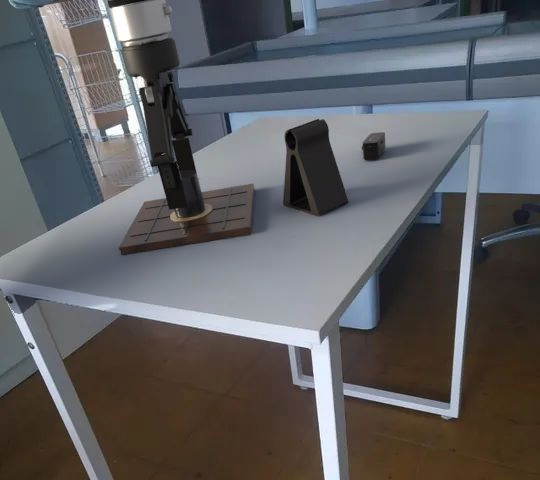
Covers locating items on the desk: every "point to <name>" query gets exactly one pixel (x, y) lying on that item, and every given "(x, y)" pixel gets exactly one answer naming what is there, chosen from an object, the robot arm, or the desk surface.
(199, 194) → the dark grey canister
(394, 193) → the desk surface
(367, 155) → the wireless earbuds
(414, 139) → the desk surface
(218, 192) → the grid board
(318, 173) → the black triangular stand
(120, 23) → the robot arm
